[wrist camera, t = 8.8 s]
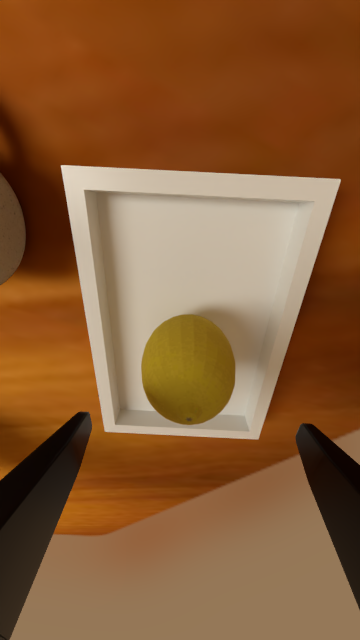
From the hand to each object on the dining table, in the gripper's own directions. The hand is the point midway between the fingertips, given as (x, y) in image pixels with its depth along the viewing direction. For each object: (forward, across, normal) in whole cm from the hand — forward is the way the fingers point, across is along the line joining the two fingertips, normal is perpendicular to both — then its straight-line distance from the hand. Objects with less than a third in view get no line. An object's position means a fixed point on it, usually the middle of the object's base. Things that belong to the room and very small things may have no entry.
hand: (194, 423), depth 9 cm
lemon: (+8, 0, 0) cm, 9 cm away
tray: (+9, 0, 0) cm, 9 cm away
